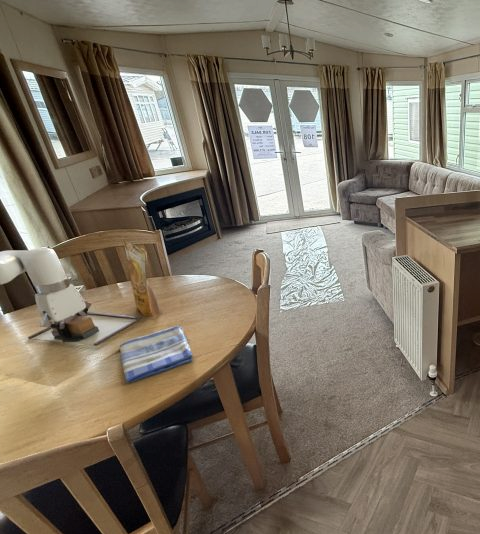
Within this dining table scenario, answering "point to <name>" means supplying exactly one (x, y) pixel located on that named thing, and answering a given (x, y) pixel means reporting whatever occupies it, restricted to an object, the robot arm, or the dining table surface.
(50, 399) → the dining table surface
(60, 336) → the stroke
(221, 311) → the dining table surface
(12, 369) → the dining table surface
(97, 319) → the memo board
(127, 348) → the dish towel
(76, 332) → the eraser
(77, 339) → the stroke
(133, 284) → the pancake mix bag
